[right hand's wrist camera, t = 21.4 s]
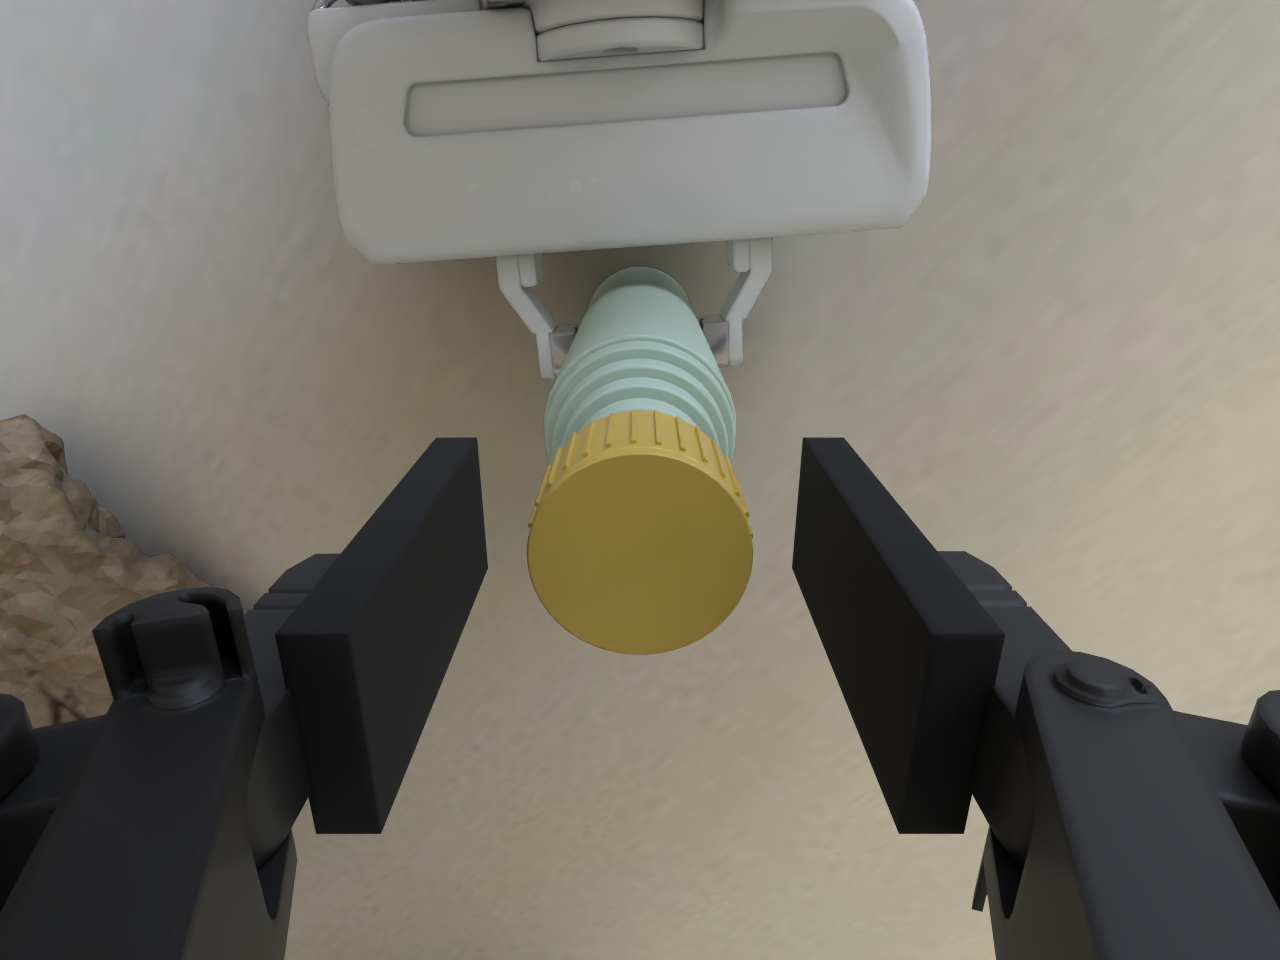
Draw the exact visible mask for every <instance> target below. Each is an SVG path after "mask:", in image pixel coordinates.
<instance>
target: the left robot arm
mask: <svg viewBox="0 0 1280 960" xmlns="http://www.w3.org/2000/svg"><path fill="white" fill-rule="evenodd" d="M336 1H337V0H316V2H315V3H314V5H313V7H312V10H311V12H310V14H309V16H308V21H307V37H308V42H309V47H310V52H311V57H312V62H313V67H314V72H315V77H316V81H317V84H318V87H319V90H320V92H321V95H322V97H323V98H324V100H325V102H326V103H327V105H328V106H329V107H330V135H331V151H332V164H333V174H334V183H335V191H336V199H337V206H338V213H339V219H340V224H341V229H342V233H343V235H344V237H345V239H346V241H347V242H348V243H349V244H350V245H351V246H352V247H353V248H354V249H355V250H356V251H357V252H358V253H359V254H360V255H361V256H362V257H363V258H364V259H365V260H366V261H367V262H368V263H370V264H374V265H381V264H396V263H410V262H425V261H439V260H453V259H468V258H482V257H495V260H496V268H497V275H498V283H499V290H500V291H501V292H502V294H503V295H504V297H505V298H506V299H507V301H508V302H509V303H510V305H511V306H512V307H513V309H514V310H515V311H516V313H517V314H518V316H519V317H520V318H521V320H522V321H523V322H524V324H525V325H526V326H527V328H528V329H529V330H530V332H531V333H532V334H536V342H537V351H538V359H539V368H540V374H541V377H542V379H549V378H557V376H558V374H559V372H560V370H561V367H562V365H563V363H564V360H565V358H566V356H567V354H568V351H569V349H570V347H571V345H572V342H573V340H574V338H575V336H576V333H577V331H578V324H571V325H557V323H556V321H555V320H554V318H553V317H552V315H551V314H550V312H549V311H548V309H547V308H546V306H545V305H544V303H543V302H542V300H541V299H540V298H539V296H538V295H537V293H536V292H535V290H534V289H533V287H534V286H535V285H536V284H537V283H539V282H540V281H541V280H542V279H543V277H544V275H543V265H542V255H541V253H553V252H568V251H582V250H596V249H611V248H625V247H639V246H654V245H668V244H682V243H696V242H711V241H725V240H726V241H727V264H728V265H729V266H730V267H731V268H732V269H733V270H734V271H736V272H737V273H740V274H739V276H738V278H737V280H736V282H735V284H734V286H733V288H732V289H731V291H730V293H729V295H728V297H727V299H726V301H725V303H724V305H723V307H722V309H721V311H720V314H716V315H705V316H699V324H700V327H701V329H702V331H703V334H704V336H705V338H706V340H707V343H708V345H709V347H710V349H711V352H712V354H713V356H714V358H715V361H716V363H717V365H718V367H728V366H729V367H730V366H741V365H742V358H743V355H742V320H745V319H746V318H747V316H748V314H749V312H750V310H751V309H752V307H753V305H754V303H755V301H756V299H757V298H758V296H759V294H760V292H761V290H762V289H763V287H764V285H765V283H766V281H767V280H768V278H769V276H770V274H771V272H772V237H782V236H797V235H811V234H825V233H839V232H854V231H868V230H882V229H896V228H900V227H902V226H903V225H905V224H906V223H907V221H908V220H909V219H910V218H911V216H912V215H913V214H914V213H915V211H916V210H917V209H918V207H919V206H920V204H921V203H922V202H923V200H924V198H925V196H926V194H927V190H928V183H929V173H930V156H931V96H930V76H929V61H928V49H927V40H926V35H925V30H924V25H923V22H922V19H921V16H920V13H919V11H918V8H917V7H916V5H915V3H914V1H913V0H346V2H347V3H348V4H349V5H352V6H344V7H331V8H329V7H330V6H331V5H332V4H333V3H334V2H336ZM401 1H407V2H401ZM391 2H394V3H391Z"/></svg>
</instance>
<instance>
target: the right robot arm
mask: <svg viewBox="0 0 1280 960" xmlns="http://www.w3.org/2000/svg"><path fill="white" fill-rule="evenodd" d="M487 569H488V563H487V551H486V539H485V528H484V516H483V504H482V492H481V480H480V468H479V456H478V444H477V438H436V439H435V440H434V441H433V442H432V443H431V445H430V446H429V447H428V448H427V450H426V451H425V452H424V453H423V454H422V456H421V457H420V458H419V459H418V461H417V462H416V463H415V464H414V465H413V467H412V468H411V469H410V470H409V471H408V473H407V474H406V475H405V476H404V478H403V479H402V480H401V481H400V482H399V484H398V485H397V486H396V487H395V488H394V490H393V491H392V492H391V493H390V495H389V496H388V497H387V498H386V499H385V501H384V502H383V503H382V504H381V505H380V507H379V508H378V509H377V510H376V512H375V513H374V514H373V515H372V516H371V518H370V519H369V520H368V521H367V523H366V524H365V525H364V526H363V527H362V529H361V530H360V531H359V532H358V533H357V535H356V536H355V537H354V538H353V540H352V541H351V542H350V543H349V544H348V546H347V547H346V548H345V549H344V550H343V552H342V553H341V554H314V555H313V556H311V557H309V558H307V559H306V560H304V561H302V562H300V563H298V564H297V565H295V566H293V567H291V568H290V569H288V570H286V571H285V572H284V574H283V575H282V576H281V577H280V578H279V579H278V580H277V581H276V582H275V583H274V584H273V585H272V586H271V587H270V589H269V593H265V594H264V595H263V596H262V597H261V598H260V599H259V600H258V601H257V603H256V604H255V605H254V609H253V610H249V611H248V612H247V613H246V614H245V615H243V611H242V606H241V602H240V598H239V597H238V596H236V595H235V594H233V593H232V592H230V591H229V590H224V589H218V588H212V587H200V588H183V589H178V590H174V591H169V592H164V593H159V594H155V595H153V596H150V597H147V598H144V599H141V600H139V601H136V602H133V603H130V604H128V605H126V606H125V607H123V608H121V609H119V610H117V611H116V612H114V613H112V614H110V615H108V616H107V617H105V618H104V619H103V620H102V621H101V622H100V623H99V624H98V625H97V626H96V627H95V628H94V629H93V630H92V633H93V636H94V639H95V642H96V646H97V649H98V652H99V655H100V658H101V662H102V665H103V668H104V671H105V674H106V678H107V681H108V684H109V687H110V690H111V694H112V697H113V702H112V704H111V706H110V708H109V709H108V711H107V713H106V714H105V715H101V716H97V717H91V718H86V719H81V720H76V721H71V722H65V723H60V724H55V725H50V726H45V727H39V728H34V729H33V727H32V724H31V721H30V718H29V716H28V713H27V710H26V707H25V705H24V702H22V701H21V700H19V699H18V698H16V697H15V696H13V695H11V694H0V960H284V956H285V948H286V941H287V933H288V926H289V918H290V911H291V903H292V895H293V888H294V880H295V873H296V865H297V856H296V849H295V843H294V838H293V834H292V829H291V827H292V826H293V824H294V822H295V820H296V818H297V816H298V815H299V813H300V811H301V809H302V807H303V805H304V804H305V802H306V800H307V798H308V797H309V802H310V806H311V811H312V816H313V821H314V825H315V830H316V834H381V832H382V830H383V827H384V825H385V822H386V820H387V817H388V815H389V812H390V810H391V807H392V805H393V803H394V800H395V798H396V795H397V793H398V790H399V788H400V785H401V783H402V780H403V778H404V775H405V773H406V770H407V768H408V765H409V763H410V760H411V758H412V755H413V753H414V750H415V748H416V745H417V743H418V740H419V738H420V735H421V733H422V730H423V728H424V725H425V723H426V721H427V718H428V716H429V713H430V711H431V708H432V706H433V703H434V701H435V698H436V696H437V693H438V691H439V688H440V686H441V683H442V681H443V678H444V676H445V673H446V671H447V668H448V666H449V663H450V661H451V658H452V656H453V653H454V651H455V648H456V646H457V643H458V641H459V639H460V636H461V634H462V631H463V629H464V626H465V624H466V621H467V619H468V616H469V614H470V611H471V609H472V606H473V604H474V601H475V599H476V596H477V594H478V591H479V589H480V586H481V584H482V581H483V579H484V576H485V574H486V571H487ZM792 569H793V571H794V574H795V576H796V579H797V581H798V584H799V586H800V589H801V591H802V594H803V596H804V599H805V601H806V604H807V606H808V609H809V611H810V614H811V616H812V619H813V621H814V624H815V626H816V629H817V631H818V634H819V636H820V639H821V641H822V643H823V646H824V648H825V651H826V653H827V656H828V658H829V661H830V663H831V666H832V668H833V671H834V673H835V676H836V678H837V681H838V683H839V686H840V688H841V691H842V693H843V696H844V698H845V701H846V703H847V706H848V708H849V711H850V713H851V716H852V718H853V721H854V723H855V725H856V728H857V730H858V733H859V735H860V738H861V740H862V743H863V745H864V748H865V750H866V753H867V755H868V758H869V760H870V763H871V765H872V768H873V770H874V773H875V775H876V778H877V780H878V783H879V785H880V788H881V790H882V793H883V795H884V798H885V800H886V803H887V805H888V807H889V810H890V812H891V815H892V817H893V820H894V822H895V825H896V827H897V830H898V832H899V834H964V830H965V825H966V821H967V816H968V811H969V806H970V802H971V797H972V794H973V796H974V798H975V800H976V802H977V803H978V805H979V807H980V809H981V811H982V812H983V814H984V816H985V818H986V820H987V822H988V823H989V829H988V834H987V838H986V843H985V847H984V852H983V856H982V861H981V865H980V870H979V874H978V879H977V883H976V887H975V892H974V898H973V905H972V909H974V910H978V911H983V907H984V903H985V898H986V895H988V901H989V909H990V916H991V924H992V931H993V939H994V946H995V954H996V960H1280V690H1276V691H1269V692H1267V693H1266V694H1264V695H1263V696H1261V697H1260V698H1258V699H1257V702H1256V705H1255V707H1254V710H1253V713H1252V716H1251V718H1250V721H1249V724H1248V725H1243V724H1238V723H1233V722H1228V721H1222V720H1217V719H1212V718H1207V717H1202V716H1196V715H1191V714H1186V713H1181V712H1177V711H1173V710H1172V708H1171V706H1170V704H1169V702H1168V701H1167V699H1166V698H1165V697H1164V695H1163V694H1162V693H1161V692H1160V691H1159V690H1158V688H1157V687H1156V686H1155V685H1154V684H1153V683H1152V682H1150V681H1149V680H1147V679H1146V678H1144V677H1143V676H1141V675H1140V674H1138V673H1137V672H1135V671H1134V670H1132V669H1130V668H1128V667H1125V666H1123V665H1120V664H1118V663H1116V662H1113V661H1111V660H1109V659H1106V658H1102V657H1098V656H1094V655H1090V654H1086V653H1082V652H1073V651H1072V650H1071V649H1070V648H1069V647H1068V646H1067V645H1066V644H1065V643H1064V642H1063V641H1062V640H1061V639H1060V638H1059V637H1058V635H1057V634H1056V633H1055V632H1054V631H1053V630H1052V629H1051V628H1050V627H1049V626H1048V625H1047V624H1046V623H1045V622H1044V621H1043V619H1042V618H1041V617H1040V616H1039V615H1038V614H1037V613H1036V612H1035V611H1034V610H1033V609H1032V608H1031V607H1027V602H1026V601H1025V600H1024V599H1023V598H1022V597H1021V596H1020V595H1019V594H1018V593H1017V592H1016V591H1012V586H1011V585H1010V584H1009V583H1008V582H1007V581H1006V580H1005V579H1004V578H1003V577H1002V576H1001V575H1000V574H999V573H998V571H997V570H996V569H995V568H994V567H992V566H990V565H988V564H986V563H985V562H983V561H981V560H979V559H978V558H976V557H974V556H972V555H970V554H969V553H967V552H965V551H937V550H936V549H935V548H934V547H933V546H932V544H931V543H930V542H929V541H928V540H927V538H926V537H925V536H924V535H923V533H922V532H921V531H920V530H919V529H918V527H917V526H916V525H915V524H914V523H913V521H912V520H911V519H910V518H909V516H908V515H907V514H906V513H905V512H904V510H903V509H902V508H901V507H900V505H899V504H898V503H897V502H896V501H895V499H894V498H893V497H892V496H891V495H890V493H889V492H888V491H887V490H886V488H885V487H884V486H883V485H882V484H881V482H880V481H879V480H878V479H877V478H876V476H875V475H874V474H873V473H872V471H871V470H870V469H869V468H868V467H867V465H866V464H865V463H864V462H863V461H862V459H861V458H860V457H859V456H858V454H857V453H856V452H855V451H854V450H853V448H852V447H851V446H850V445H849V443H848V442H847V441H846V440H845V439H844V438H803V444H802V456H801V468H800V480H799V492H798V504H797V516H796V528H795V539H794V551H793V563H792Z"/></svg>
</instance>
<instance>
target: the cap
mask: <svg viewBox="0 0 1280 960" xmlns="http://www.w3.org/2000/svg"><path fill="white" fill-rule="evenodd" d="M748 516H749V513H748V510H747V507H746V504H745V501H744V498H743V495H742V492H741V489H740V486H739V483H738V480H737V477H736V474H733V471H732V468H731V465H730V462H729V459H728V457H727V455H726V456H723V454H722V453H721V451H720V450H719V449H718V446H717V443H716V441H715V440H714V439H713V440H711V439H710V438H709V437H708V436H707V435H706V434H704V433H703V432H702V431H701V430H700V427H698V426H697V425H696V427H695V426H693V425H691V424H689V423H688V422H686V421H684V420H681V417H679V416H676V417H674V416H671V415H667V414H663V413H659V411H657V410H655V411H654V412H652V411H637V409H632V411H628V412H621V413H617V414H615V413H614V412H613V413H610V415H609V416H606V417H603V418H601V419H598V420H596V421H594V420H592V421H590V422H589V425H587V426H585V427H584V428H582V429H581V430H580V431H578V432H577V433H575V432H574V433H572V434H571V438H570V439H569V440H568V441H567V442H566V443H565V445H564V446H563V447H562V448H561V447H559V448H558V449H557V452H556V455H555V458H554V461H553V463H552V465H548V466H547V469H546V472H545V475H544V478H543V481H542V484H541V487H540V490H539V493H538V496H537V499H536V502H535V505H534V509H533V512H532V515H531V518H530V521H529V525H528V527H530V528H531V529H530V533H529V537H528V544H527V561H528V569H529V574H530V578H531V581H532V584H533V587H534V589H535V592H536V593H537V595H538V597H539V599H540V601H541V603H542V604H543V606H544V607H545V608H546V610H547V611H548V613H549V614H550V615H551V616H552V617H553V618H554V619H555V620H556V621H557V622H558V623H559V624H560V625H561V626H562V627H563V628H565V629H566V630H567V631H568V632H570V633H571V634H573V635H574V636H576V637H577V638H579V639H581V640H583V641H585V642H587V643H589V644H591V645H593V646H596V647H599V648H602V649H605V650H609V651H613V652H618V653H625V654H655V653H662V652H667V651H671V650H675V649H678V648H681V647H684V646H687V645H689V644H691V643H693V642H695V641H697V640H699V639H701V638H702V637H704V636H706V635H707V634H709V633H710V632H712V631H713V630H714V629H715V628H716V627H718V626H719V625H720V624H721V623H722V622H723V621H724V620H725V619H726V618H727V617H728V616H729V615H730V614H731V612H732V611H733V610H734V608H735V607H736V605H737V604H738V603H739V601H740V599H741V597H742V595H743V593H744V591H745V589H746V586H747V584H748V581H749V578H750V573H751V569H752V560H753V546H752V538H753V534H752V531H751V527H750V524H749V521H748V518H747V517H748Z"/></svg>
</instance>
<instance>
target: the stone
mask: <svg viewBox="0 0 1280 960" xmlns="http://www.w3.org/2000/svg"><path fill="white" fill-rule="evenodd" d="M124 538H125V533H124V531H123V530H122V528H121V526H120V524H119V523H118V521H117V519H116V518H115V516H114V515H113V514H112V513H111V512H109V511H108V510H107V509H106V508H103V507H100V506H98V505H97V502H96V499H95V496H93V495H92V494H91V493H90V491H89V490H88V488H87V486H86V485H85V483H83V482H79V481H77V480H75V479H73V478H71V477H69V476H68V473H67V466H66V460H65V453H64V444H63V441H62V439H61V437H59V436H58V435H56V434H54V433H52V432H50V431H48V430H47V429H45V428H43V427H42V426H41V425H40V424H39V423H38V422H37V421H36V420H34V419H32V418H31V417H29V416H27V415H25V414H23V415H20V416H16V417H13V418H9V419H6V420H2V421H0V694H11V695H13V696H15V697H16V698H18V699H19V700H21V701H22V702H24V705H25V707H26V710H27V713H28V716H29V718H30V721H31V724H32V727H33V729H34V728H39V727H45V726H50V725H55V724H60V723H65V722H71V721H76V720H81V719H86V718H91V717H97V716H101V715H105V714H106V713H107V711H108V709H109V708H110V706H111V704H112V702H113V697H112V694H111V690H110V687H109V684H108V681H107V678H106V674H105V671H104V668H103V665H102V662H101V658H100V655H99V652H98V649H97V646H96V642H95V639H94V636H93V633H92V630H93V629H94V628H95V627H96V626H97V625H98V624H99V623H100V622H101V621H102V620H103V619H104V618H105V617H107V616H108V615H110V614H112V613H114V612H116V611H117V610H119V609H121V608H123V607H125V606H126V605H128V604H130V603H133V602H136V601H139V600H141V599H144V598H147V597H150V596H153V595H155V594H159V593H164V592H169V591H174V590H178V589H183V588H200V587H211V586H210V585H208V584H207V583H205V582H203V581H201V580H200V579H199V578H197V577H196V576H195V575H194V574H193V573H192V572H191V571H190V570H189V569H187V568H186V566H185V564H184V563H183V562H182V561H180V560H179V559H177V558H175V557H173V556H172V555H170V554H167V553H165V554H160V555H155V556H151V557H149V556H145V555H144V554H143V553H142V551H141V550H140V549H139V547H138V546H137V545H135V544H134V543H132V542H131V541H129V540H126V539H124ZM243 615H245V614H244V613H243Z"/></svg>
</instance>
